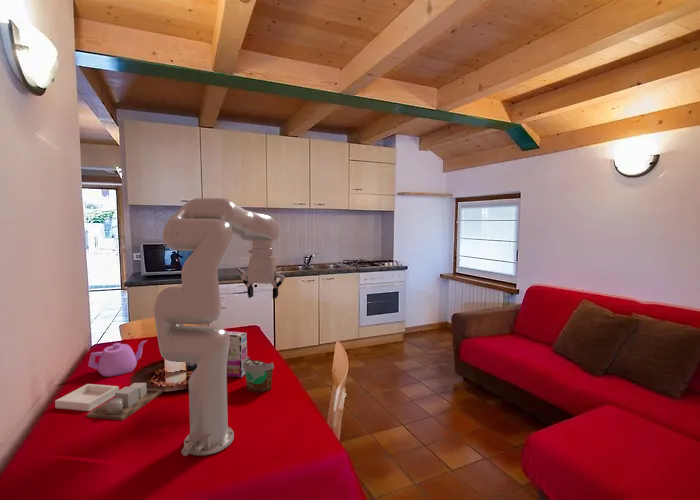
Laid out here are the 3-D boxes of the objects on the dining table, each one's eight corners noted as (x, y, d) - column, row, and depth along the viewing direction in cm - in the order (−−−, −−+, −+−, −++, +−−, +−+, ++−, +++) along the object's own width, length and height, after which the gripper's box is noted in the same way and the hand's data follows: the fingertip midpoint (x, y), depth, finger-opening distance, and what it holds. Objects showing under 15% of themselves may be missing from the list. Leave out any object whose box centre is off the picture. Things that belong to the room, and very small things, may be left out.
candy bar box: (248, 373, 144) (247, 332, 142) (241, 378, 139) (240, 336, 137) (222, 370, 146) (222, 329, 145) (215, 375, 141) (214, 333, 140)
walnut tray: (123, 422, 108) (123, 417, 108) (87, 418, 110) (86, 414, 110) (162, 393, 126) (162, 389, 126) (131, 391, 128) (130, 387, 128)
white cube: (140, 398, 121) (140, 387, 121) (127, 398, 121) (127, 388, 121) (146, 393, 125) (146, 382, 125) (134, 393, 125) (133, 382, 125)
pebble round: (115, 417, 110) (115, 405, 110) (103, 415, 110) (102, 404, 110) (126, 409, 114) (125, 398, 114) (114, 408, 115) (113, 397, 114)
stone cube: (128, 407, 115) (127, 393, 115) (115, 406, 116) (115, 392, 116) (138, 400, 120) (138, 387, 119) (126, 399, 120) (125, 386, 120)
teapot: (151, 370, 146) (150, 342, 145) (89, 383, 134) (88, 354, 133) (145, 360, 156) (144, 334, 155) (87, 371, 144) (86, 344, 143)
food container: (235, 389, 130) (235, 361, 129) (248, 382, 135) (247, 356, 134) (262, 397, 124) (262, 368, 123) (274, 390, 130) (274, 362, 129)
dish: (89, 413, 113) (89, 403, 113) (55, 409, 115) (55, 400, 115) (119, 394, 125) (118, 386, 125) (87, 392, 127) (87, 383, 126)
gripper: (236, 253, 136) (237, 298, 138) (280, 254, 134) (281, 300, 135) (245, 251, 144) (245, 294, 145) (287, 252, 141) (287, 296, 142)
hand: (262, 297), depth 140 cm, fingers open, 9 cm apart
